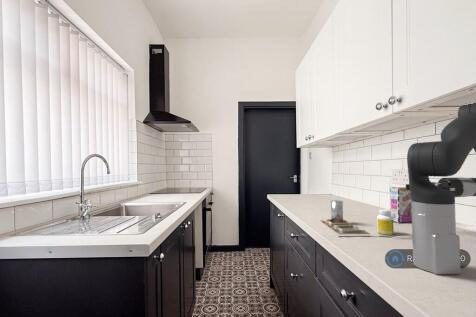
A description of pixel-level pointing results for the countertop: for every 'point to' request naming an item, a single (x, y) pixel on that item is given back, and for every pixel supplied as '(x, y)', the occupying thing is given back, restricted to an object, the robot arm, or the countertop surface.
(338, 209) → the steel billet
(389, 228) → the supplement bottle
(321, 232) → the countertop surface
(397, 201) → the candy bar box
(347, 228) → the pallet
